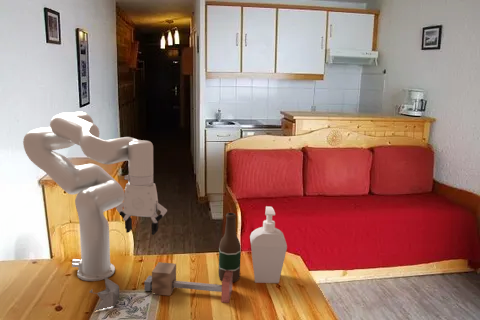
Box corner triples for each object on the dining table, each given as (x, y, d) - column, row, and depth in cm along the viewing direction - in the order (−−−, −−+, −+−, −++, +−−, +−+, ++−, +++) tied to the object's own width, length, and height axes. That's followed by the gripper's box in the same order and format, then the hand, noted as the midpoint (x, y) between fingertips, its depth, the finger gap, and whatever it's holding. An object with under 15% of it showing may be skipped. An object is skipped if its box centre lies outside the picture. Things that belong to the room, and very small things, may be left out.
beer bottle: (237, 284, 138) (239, 218, 133) (215, 281, 139) (217, 216, 134) (241, 274, 145) (244, 211, 140) (221, 271, 146) (222, 209, 142)
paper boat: (115, 312, 117) (83, 306, 115) (112, 320, 122) (81, 315, 120) (125, 275, 126) (95, 269, 124) (122, 284, 130) (93, 279, 128)
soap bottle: (281, 270, 149) (285, 204, 143) (284, 284, 139) (289, 214, 133) (248, 269, 148) (251, 203, 143) (249, 283, 138) (252, 213, 133)
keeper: (152, 293, 129) (151, 272, 128) (158, 283, 136) (158, 262, 134) (170, 295, 129) (170, 273, 127) (175, 284, 135) (176, 263, 134)
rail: (142, 294, 129) (142, 274, 128) (150, 282, 137) (150, 263, 135) (228, 302, 126) (229, 282, 125) (232, 289, 134) (232, 270, 133)
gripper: (109, 180, 123) (110, 234, 126) (164, 184, 121) (164, 239, 125) (119, 175, 130) (120, 225, 134) (171, 178, 128) (171, 230, 132)
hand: (141, 231), depth 129 cm, fingers open, 7 cm apart
